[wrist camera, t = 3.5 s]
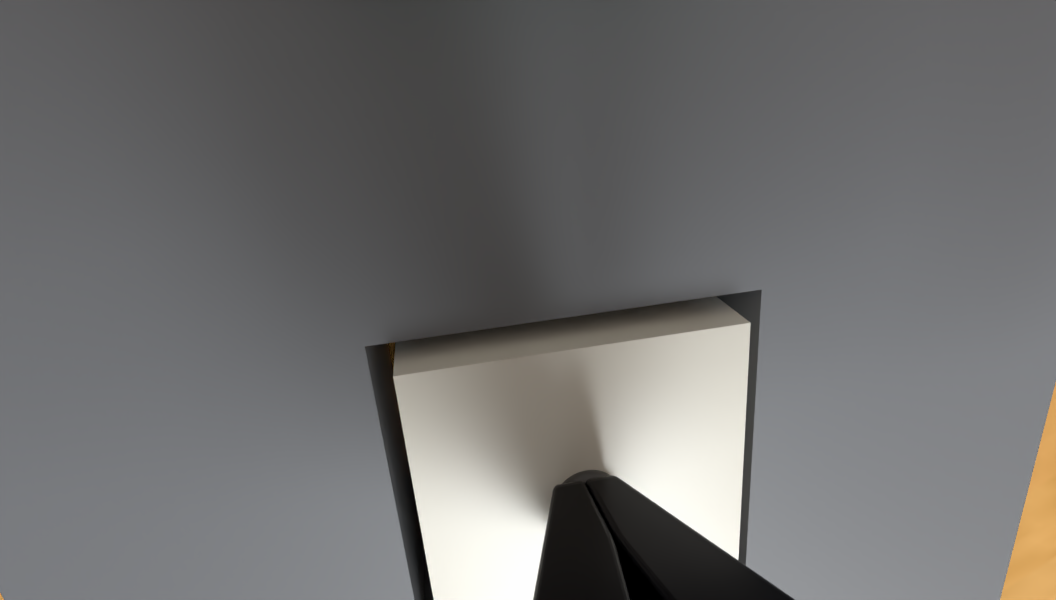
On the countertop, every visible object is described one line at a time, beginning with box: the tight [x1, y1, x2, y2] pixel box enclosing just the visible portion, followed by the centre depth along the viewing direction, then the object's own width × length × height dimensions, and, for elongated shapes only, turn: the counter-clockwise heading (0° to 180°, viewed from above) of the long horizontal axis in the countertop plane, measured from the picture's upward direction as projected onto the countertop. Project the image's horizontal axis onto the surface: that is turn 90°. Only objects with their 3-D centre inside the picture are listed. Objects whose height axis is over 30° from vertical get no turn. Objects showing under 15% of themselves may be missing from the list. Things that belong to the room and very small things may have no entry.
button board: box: [0, 0, 1056, 600], centre depth 10 cm, size 15×25×2 cm, turn 5°
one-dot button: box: [393, 296, 751, 600], centre depth 10 cm, size 4×4×3 cm
